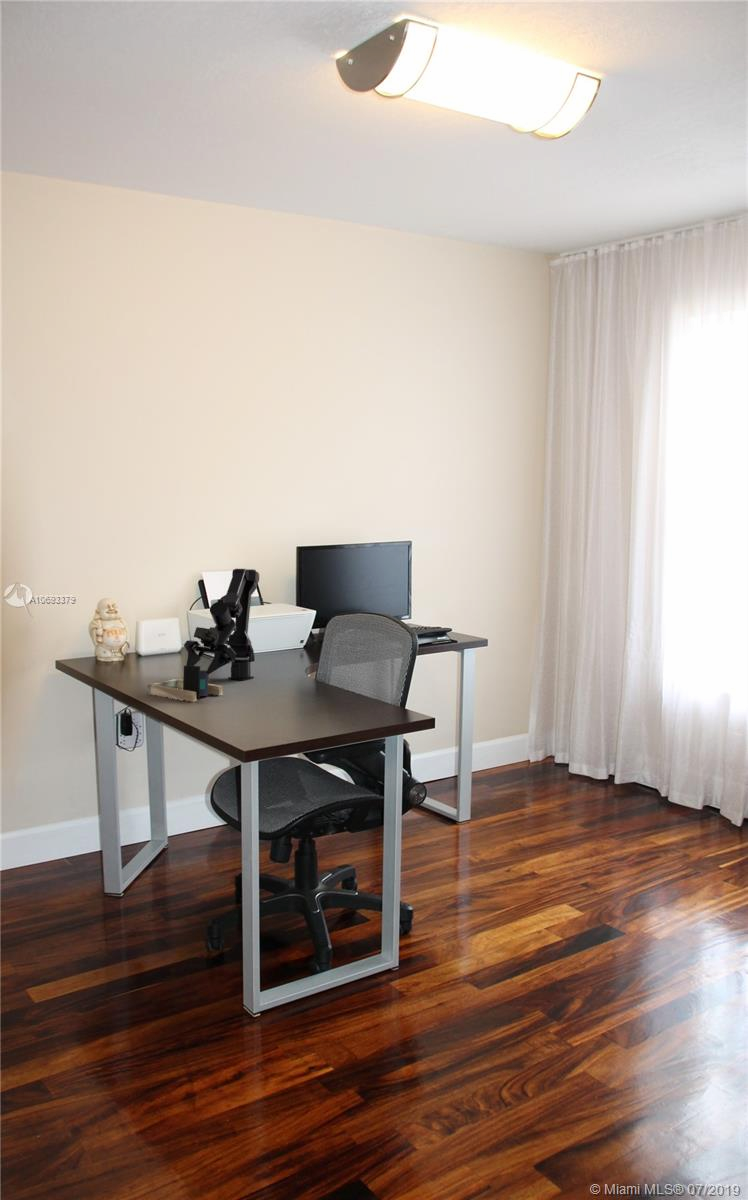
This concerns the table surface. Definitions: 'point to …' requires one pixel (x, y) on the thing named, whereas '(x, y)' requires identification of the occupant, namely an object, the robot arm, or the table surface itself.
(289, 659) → the table surface
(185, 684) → the dark cylinder with backplate
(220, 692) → the channel
